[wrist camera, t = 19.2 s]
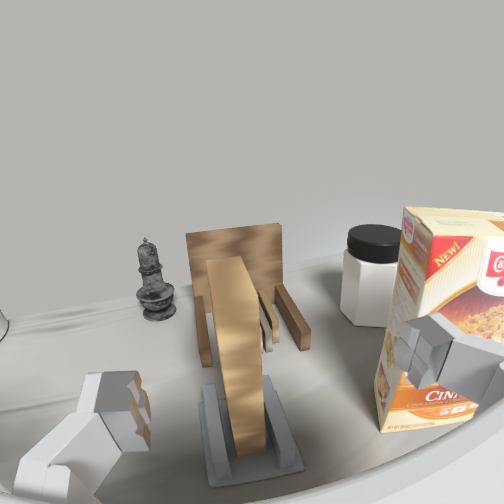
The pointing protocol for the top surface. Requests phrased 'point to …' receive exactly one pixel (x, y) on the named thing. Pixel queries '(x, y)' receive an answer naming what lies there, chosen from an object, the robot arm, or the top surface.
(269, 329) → the offcut boards
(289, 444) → the slate holder
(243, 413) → the wooden block
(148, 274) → the salt shaker
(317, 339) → the top surface
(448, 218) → the coffeecake box
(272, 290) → the walnut rack
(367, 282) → the jar
